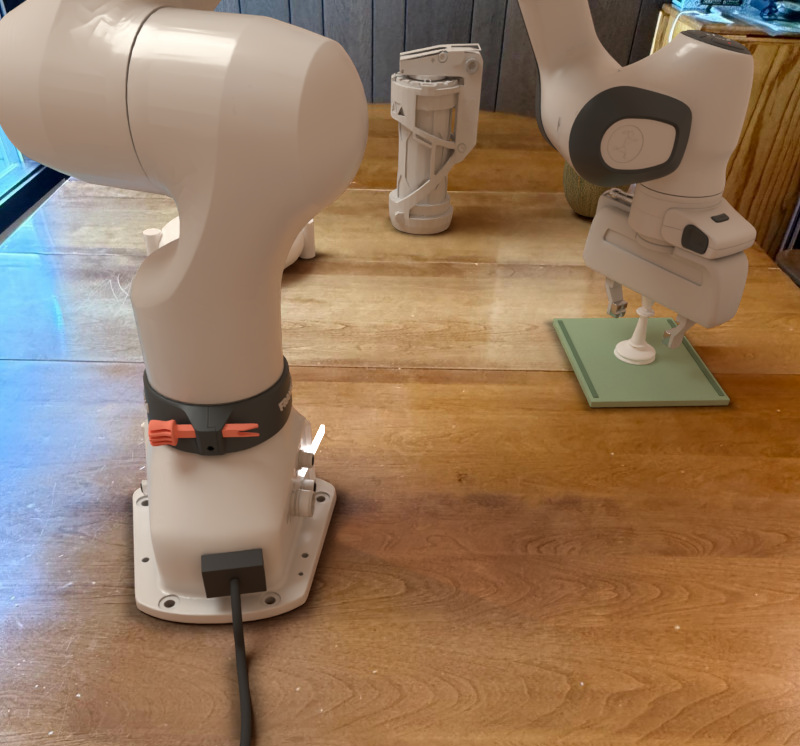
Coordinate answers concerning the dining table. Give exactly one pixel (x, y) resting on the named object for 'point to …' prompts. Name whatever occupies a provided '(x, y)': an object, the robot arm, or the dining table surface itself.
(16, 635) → the dining table surface
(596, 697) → the dining table surface
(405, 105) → the lantern
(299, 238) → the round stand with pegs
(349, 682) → the dining table surface
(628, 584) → the dining table surface
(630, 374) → the green rectangular board
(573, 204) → the fruit
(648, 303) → the chess piece
